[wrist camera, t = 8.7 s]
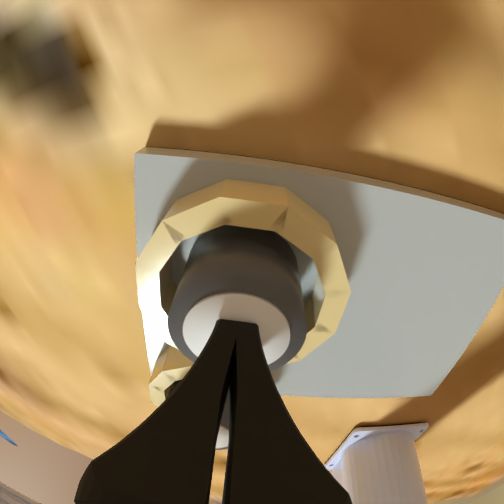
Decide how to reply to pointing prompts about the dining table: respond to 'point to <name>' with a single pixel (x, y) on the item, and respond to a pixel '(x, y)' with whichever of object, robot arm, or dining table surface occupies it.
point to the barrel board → (384, 269)
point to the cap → (240, 292)
